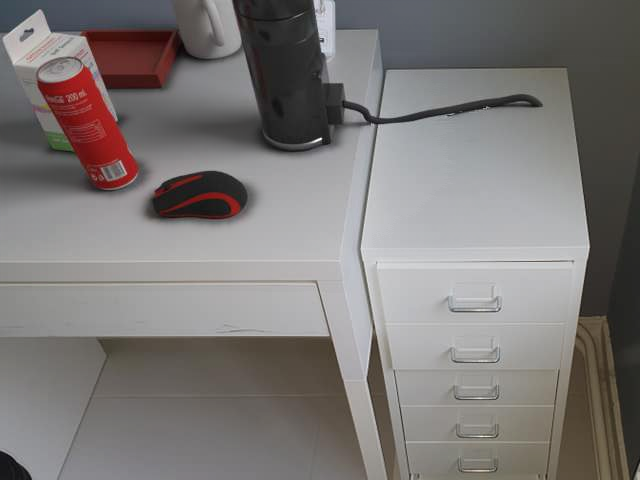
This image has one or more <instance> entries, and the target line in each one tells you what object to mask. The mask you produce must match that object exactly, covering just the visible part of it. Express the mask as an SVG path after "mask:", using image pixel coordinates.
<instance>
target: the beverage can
mask: <svg viewBox="0 0 640 480" xmlns="http://www.w3.org/2000/svg"><path fill="white" fill-rule="evenodd" d="M35 76H36V79H37V86H38V89H39V90H40V92H41V94H42V96H43V97H44V99H45V101H46V103H47V104H48V106H49V108H50V109H51V111H52V113H53V115H54V116H55V118H56V120H57V122H58V123H59V125H60V127H61V129H62V130H63V132H64V134H65V136H66V137H67V139H68V141H69V143H70V144H71V146H72V148H73V150H74V151H75V152H74V151H73V152H74V154H75V155H76V157H77V158H78V160H79V162H80V164H81V165H82V167H83V169H84V170H85V172H86V174H87V176H88V177H89V179H90V181H91V183H92V185H94V186H95V187H97V188H99V189H101V190H105V191H114V190H115V191H116V190H120V189H122V188H124V187H127V186H129V185H130V184H132V183H133V182H134V181H135V180H136V178H137V177H138V175H139V165H138V163H137V161H136V159H135V157H134V155H133V153H132V151H131V149H130V147H129V145H128V143H127V141H126V139H125V137H124V134H123V133H122V131H121V129H120V127H119V125H118V123H117V121H115V119H114V117H113V115H112V113H111V111H110V109H109V107H108V105H107V103H106V101H105V99H104V97H103V95H102V93H101V91H100V89H99V87H98V85H97V83H96V81H95V79H94V77H93V75H92V73H91V71H90V70H89V69H88V68H87V67H86V66H85V65H84V64H83V62H82V61H81V60H80V59H78V58H76V57H70V56H65V57H58V58H54V59H51V60H49V61H47V62H45V63H43V64H42V65H40V66H39V67H38V68H37V70H36V72H35Z"/></svg>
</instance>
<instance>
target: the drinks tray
mask: <svg viewBox="0 0 640 480" xmlns="http://www.w3.org/2000/svg"><path fill="white" fill-rule="evenodd" d="M79 36H83V37H86V40H87V42H88V45H89V47H90V50H91V52H92V55H93V57H94V60H95V62H96V65H97V68H98V70H99V73H100V75H101V78H102V80H103V83H104V85H105V88H106V89H160V88H163V86H164V84H165V82H166V80H167V77H168V75H169V73H170V71H171V68H172V66H173V64H174V62H175V59H176V57H177V54H178V52H179V51H180V48H181V45H182V43H183V41H182V38H181V34H180V31H179V30H178V29H83V30H82V32H81V33H80V34H79Z"/></svg>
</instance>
